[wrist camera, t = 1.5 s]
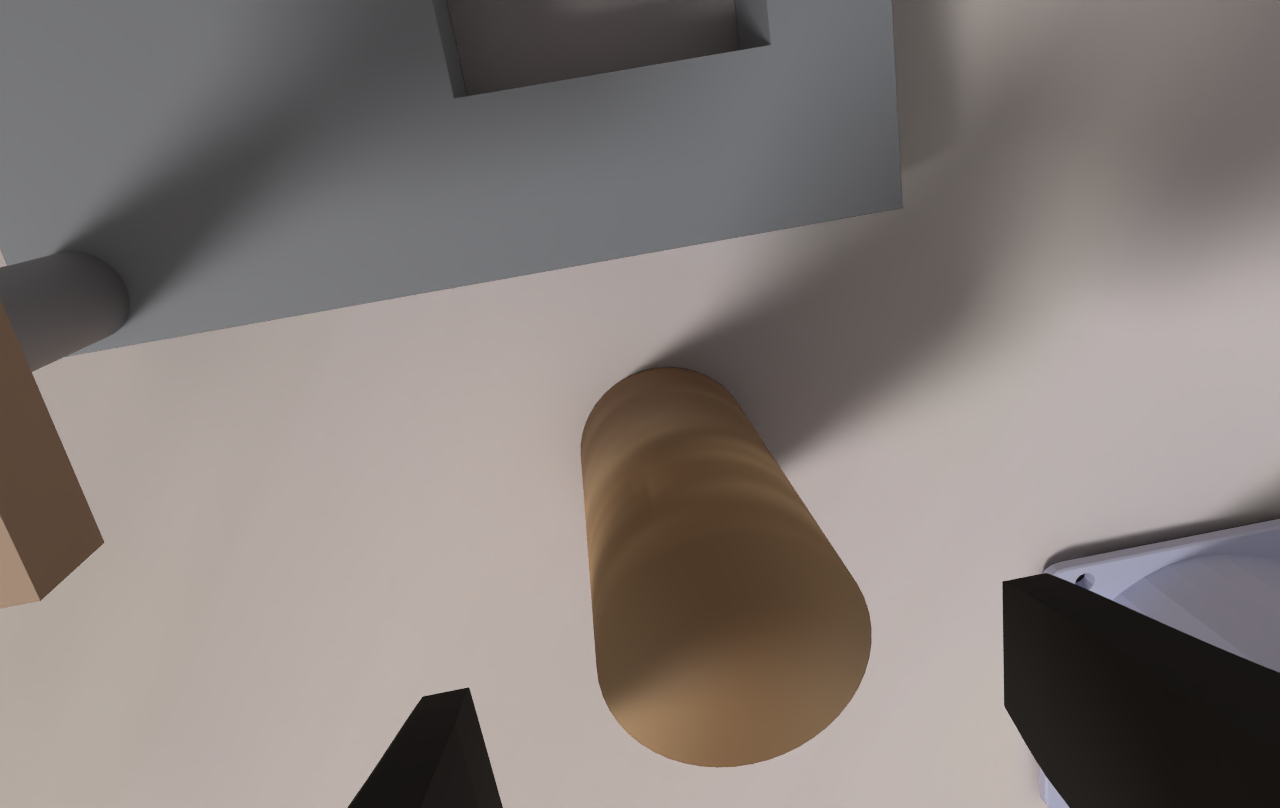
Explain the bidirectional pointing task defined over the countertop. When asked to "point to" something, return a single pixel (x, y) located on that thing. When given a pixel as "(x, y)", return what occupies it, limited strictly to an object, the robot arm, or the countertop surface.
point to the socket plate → (369, 179)
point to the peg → (710, 579)
